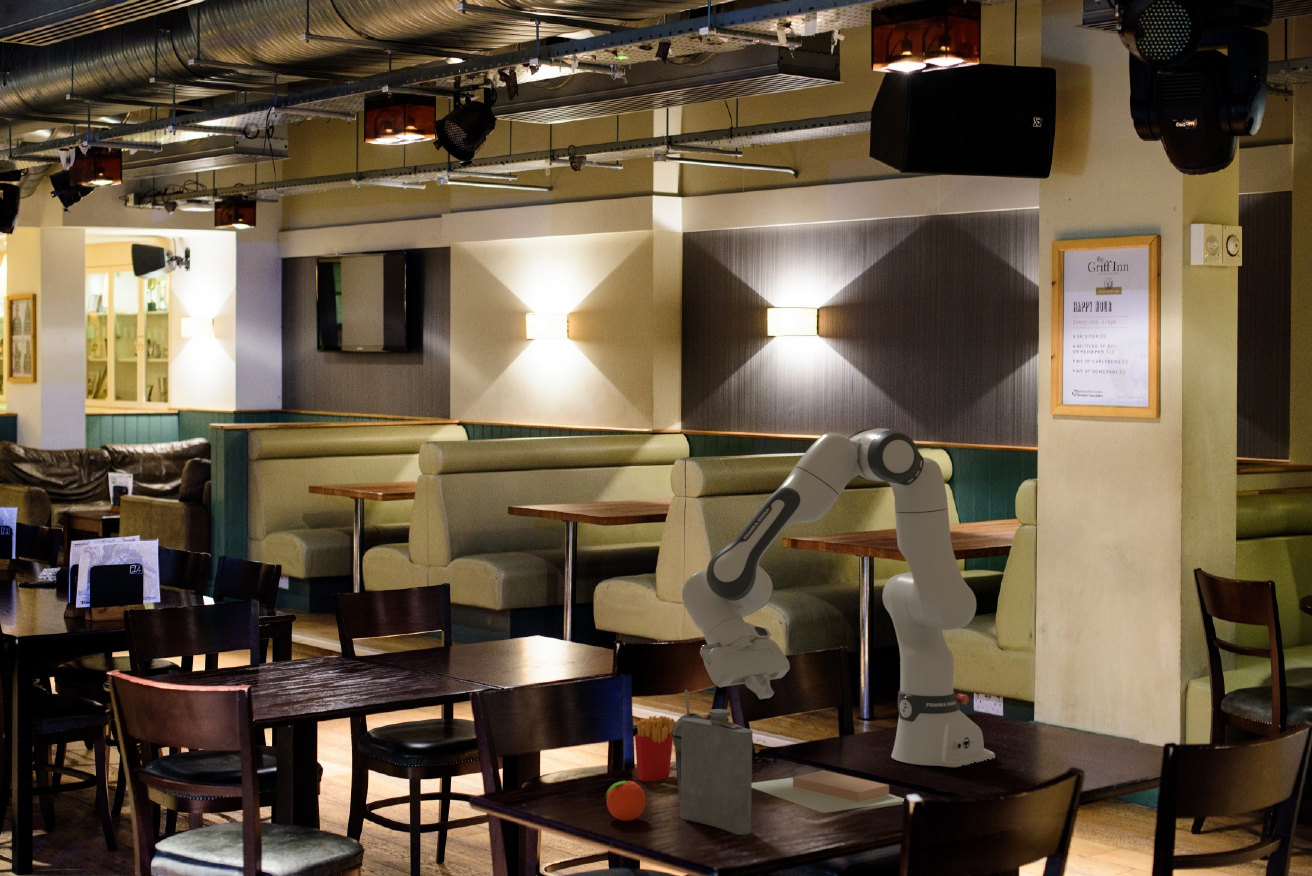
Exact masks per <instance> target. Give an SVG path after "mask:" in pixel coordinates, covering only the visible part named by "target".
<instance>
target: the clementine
mask: <svg viewBox="0 0 1312 876" xmlns="http://www.w3.org/2000/svg"><path fill="white" fill-rule="evenodd" d="M646 797H647V796H646V794H645V791H644V789H643V788H642V787H641V786H640V784H638V783H636V782H635V781H632V780H628V779H625V780H621V781H618V782H617V781H616V782H615V783H613V784H612V785H611V786H609V788H608V789H607V792H606V793H605V797H604V799H606V806H607V809H608V812H610V814H611V815H612V816H613V817H614V818H615V819H617V820H620V821H622V822H630V821H633V820H636V819H637V818H638V817H640V816H641V814H642V813H643V812H644V810H645V808H646V803H647V802H646V801H647V798H646Z"/></svg>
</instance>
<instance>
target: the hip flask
mask: <svg viewBox="0 0 1312 876" xmlns="http://www.w3.org/2000/svg"><path fill="white" fill-rule="evenodd" d="M708 713H709V714H708V716H709V717H710V720H709V719H705V718H704V719H698V718H683V719H682V754H681V798H680V814H679V815H680V819H681V820H685V821H689V820H690V822H694V823H699V824H704V825H707V826H711V827H713V828H714V827H715V828H718V829H721V830H724V831H727V832H729V833H731V834H734V835H737V836H738V835H739V836H743V835H749V834H751V833H752V789H753V788H752V783H753V781H752V780H753V730H752V729H749V728H746V727H743V726H742V725H739V724H736V723H733V722H730V721H729V720H730V719H729V717H730V716H731V711H730V710H728V709H724V708H723V709H722V708H719V709H718V708H716V709H710V710H709V711H708Z"/></svg>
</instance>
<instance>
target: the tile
mask: <svg viewBox="0 0 1312 876" xmlns="http://www.w3.org/2000/svg"><path fill="white" fill-rule="evenodd" d="M792 778H793V788H796V789H801V790H805V791H809V792H813V793H818V794H822V795H826V796H830V797H835V798H839V799H843V800H847V801H851V802H856V803H862V802H866V801H870V800H874V799H878V798H882V797H886V796H889V794H890V784H887V783H881V782H876V781H872V780H868V779H863V778H860V777H854V776H850V775H845V774H841V773H836V772H832V771H827V770H819V771H816V772H811V773H806V774H802V775H798V776H792Z"/></svg>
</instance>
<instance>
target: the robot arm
mask: <svg viewBox="0 0 1312 876" xmlns="http://www.w3.org/2000/svg"><path fill="white" fill-rule="evenodd" d="M856 477H857V478H861V479H863V480H868V481H872V482H878V483H879V482H881V483H882V482H887V483H888V484H889V486H890V487H891V489H892V494H893V496H894V514H895V530H896V541H897V547H898V550H899V552H900V554H902V556H903V557H904V559H905V561H906V563H907V565H908V567H909V571H908V572H902V573H899V574H896V575H893V576H891V577H890V578H889V579H888V580H887V581H886V583H885V585H884V587H883V590H882V602H883V606H884V608H885V610H886V611H887V612H888V614H889V616H890V618H891V620H892V623H893V627H894V629H895V630H894V631H895V635H896V639H897V643H898V648H899V657H900V658H899V659H900V662H899V664H900V668H899V669H900V672H899V673H900V674H899V675H900V682H899V683H900V684H899V685H900V686H899V687H900V688H899V690H898V693H897V695H898V697H897V709H898V722H897V728H896V735H895V740H894V744H893V748H892V749H893V750H892V752H891V758H892V759H893V760H896V761H897V762H898V761H899V762H901V763H905V764H911V765H919V766H939V767H947V768H958V767H962V765H964V766H968V765H971V763H972V764H975V763H974V762H976V763H980V762H984V760H985V761H988V760H987V759H989V760H993V759H996V753H994V752H993V751H991V750H989V749H987V748H985V747H984V742H985V741H984V736H983V735H984V734H983V732H982V729H981V727H979V725H977V724H976V723H975V722H974V721H972V720H971V719H970V717H968V716H967V715H966V714H965V713H963V711H961V710H960V705H959V704H963V705H967V704H968V702H969V700H970V699H969V696H968V695H967V694H962V693H958V694H956V693H955V692H954V674H955V673H954V672H955V671H954V669H955V667H954V665H955V660H954V655H953V652H952V651H951V650H950V648H949V646H948V644H947V642H946V640H945V636H944V634H943V633H944V632H943V631H951V630H958V629H963V628H964V627H966V626H968V625H969V624H970V622H972V620H973V619H974V617H975V614H976V612H977V611H976V610H977V598H976V595H975V594H974V591H973V590H972V589H971V587H970V586H968V584H967V583H966V581H965V579H964V578H963V574H962V573H961V571H960V567H959V564H958V561H957V559H956V556H955V552H954V550H953V544H952V540H951V539H952V538H951V527H950V520H949V519H950V518H949V516H950V515H949V506H948V497H947V496H948V495H947V490H946V489H947V488H946V484H945V479H944V477H943V472H942V469H941V466H940V465H939V463H938V462H937V461H935V460H934V459H932V458H929V457H926V456H923V455H922V454H921V452H920V451H919V449H918V446H917V445H916V443H915V441H914V439H912V438H911V437H910V436H909V435H907V434H906V433H905V432H902V431H900V430H897V429H888V428H881V427H880V428H878V427H877V428H872V429H871V428H870V429H869V428H868V429H864V430H863V429H862V430H859V431H857V432H854V433H853V434H852V435H849V436H845V435H843V434H841V433H838V432H826V433H824V434H822V435H820V437H818V439H816V441H815V442H813V443H812V444H811V446H810V447H809V448H808V449H807V450H806V451H805V453H804V454H803V455H802V456H801V458H800V459H799V460H798V462H797V463H796V464H795V466H794V467H793V469H792V470H791V472H790V473H789V474H788V476H787V477H786V479H785V480H784V481H783V483H782V484H781V485H780V486H779V487H778V489H776V490H775V491H774V492H773V493H772V494H771V495H770V496H769V497H768V498H767V500H765V502H763V504H762V505H761V507H760V508H759V509H758V510H757V511H756V513H755V514H754V515H753V516H752V518H751V519H750V520H749V521H748V523H747V524H746V525H745V526H744V527H743V529H742V530H741V531H740V532H739V534H738V535H737V536H736V537H735V538H734V539H733V540H732V541H731V542H729V544H728V545H726V546H724V547H723V548H722V549H720V550H719V551H718V552H717V553H715V554H714V555H713V557H711V559H710V561H709V562H708V565H707V568H706V570H700V571H697V572H696V573H694V574H693V575H691V576H690V577H689V578H688V579H687V580H686V582H685V583H684V585H683V587H682V589H681V598H682V602H683V603H684V607H685V608H686V611H687V612H688V615H689V616H690V619H692V621H693V623H694V624H695V626H696V627H697V628H698V629H699V630H700V631H701V633H702V634H703V637H704V640H705V642H706V644H704V645H702V646H701V647H700V649H699V650H700V651H699V654H700V657H702V659H703V665H704V667H705V669H706V671H707V673H708V676H709V678H710V679H711V681H712V682H713V684H714V685H715V686H716V687H718V688H723V687H729V686H730V687H731V686H735V685H743V684H744V685H745V687H746V688H747V689H749V690H750V691H752V692H753V693H754V694H755V695H756V696H757V697H758V699H759V700H763V699H770V698H771V697H773V695H774V694H775V691H774V690H773V688H772V687H771V680H777V679H782V678H783V677H785V675H786V674H787V672H789V670H790V669H791V668H790V667H791V665H790V661H789V659H788V658H787V656H786V654H785V653H784V652H783V650H782V649H781V647H780V646H779V645H778V643H777V642H776V641H775V640H773V639H771V637H772V633H771V632H770V630H769V629H768V628H766V627H763V626H758V625H755V624H751V623H749V622H745V619H743V618H746V617H747V616H749V615H751V614H754V613H755V612H757V611H759V610H760V609H762V608H764V607H765V606H766V605H767V604H768V603H769V602H770V600H771V598H772V596H773V591H774V584H773V580H772V578H771V576H770V575H769V574H768V572H767V571H765V570H764V568H762V567H761V566H760V565H759V563H760V560H761V558H762V557H763V555H764V554H765V553H766V552H767V550H768V549H769V548H770V547H771V545H772V544H773V543H774V542H775V541H776V539H777V538H778V537H779V536H780V535H781V532H782V531H784V530H785V529H786V528H787V527H789V526H791V525H794V524H798V523H802V524H803V523H805V524H806V523H814V522H817V521H819V520H821V519H823V517H824V516H826V515H827V513H828V512H829V511H830V510H831V509H832V508H833V506H834V505H835V504H836V502H837V501H838V499H839V498H840V497H841V494H842V493H843V492H844V490H845V488H846V486H847V485H848V484H849V483H850V482H851V481H852V480H853V479H854V478H856ZM992 758H993V759H992Z"/></svg>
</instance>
